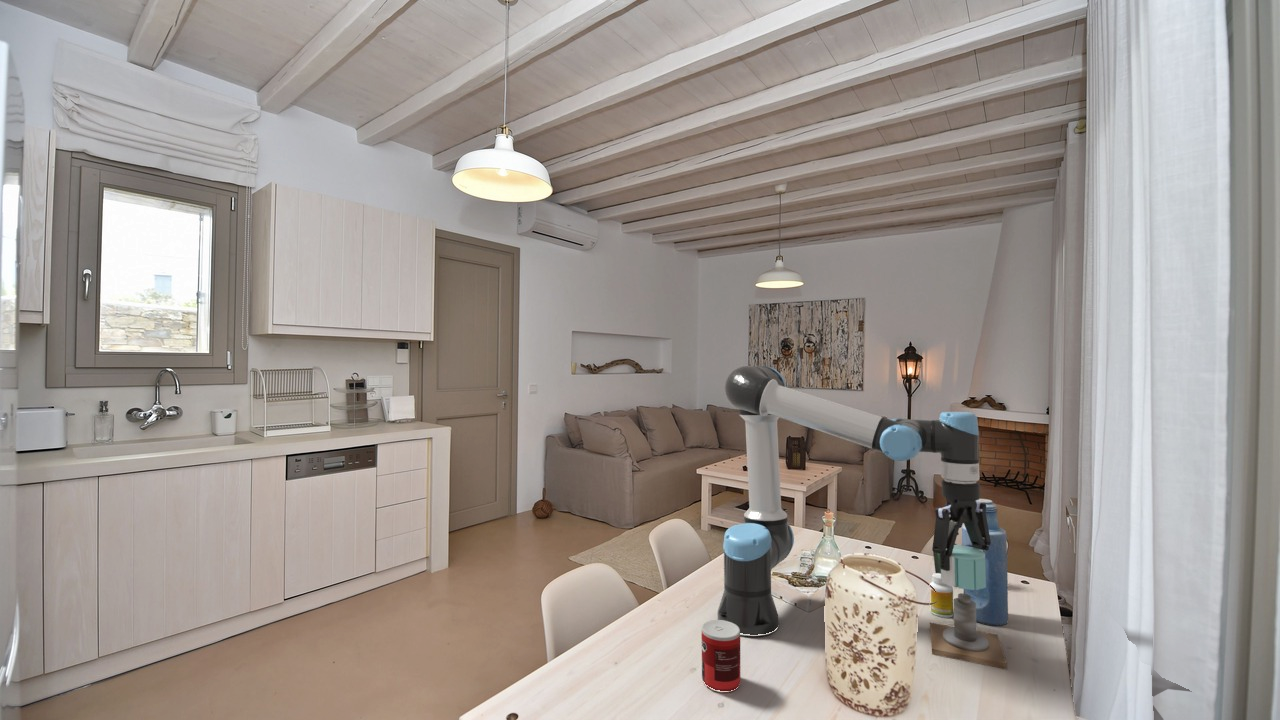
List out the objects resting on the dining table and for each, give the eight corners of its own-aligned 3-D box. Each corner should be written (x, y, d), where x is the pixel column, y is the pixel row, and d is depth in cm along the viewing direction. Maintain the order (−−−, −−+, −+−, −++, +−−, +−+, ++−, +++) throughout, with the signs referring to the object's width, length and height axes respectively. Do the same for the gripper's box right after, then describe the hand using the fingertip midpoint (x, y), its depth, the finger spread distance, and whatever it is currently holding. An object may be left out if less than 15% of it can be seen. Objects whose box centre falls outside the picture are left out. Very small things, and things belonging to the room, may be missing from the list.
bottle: (1017, 621, 137) (1015, 502, 137) (992, 629, 133) (990, 506, 133) (979, 606, 146) (977, 494, 146) (955, 614, 141) (953, 498, 142)
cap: (968, 592, 117) (967, 559, 117) (931, 578, 125) (931, 547, 125) (995, 585, 120) (994, 553, 121) (958, 572, 129) (957, 542, 129)
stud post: (932, 654, 122) (931, 601, 122) (929, 627, 134) (929, 580, 134) (1006, 669, 115) (1005, 614, 116) (997, 639, 128) (996, 589, 128)
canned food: (714, 667, 116) (713, 616, 117) (747, 681, 111) (747, 627, 112) (694, 683, 111) (693, 629, 111) (728, 698, 106) (728, 641, 106)
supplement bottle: (956, 619, 139) (956, 580, 139) (933, 617, 140) (933, 579, 140) (949, 609, 144) (948, 572, 144) (926, 608, 145) (926, 571, 145)
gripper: (942, 488, 116) (944, 595, 115) (1008, 479, 124) (1010, 578, 124) (912, 481, 123) (914, 582, 122) (976, 473, 131) (978, 568, 131)
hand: (962, 580), depth 123 cm, fingers closed on cap, 9 cm apart
